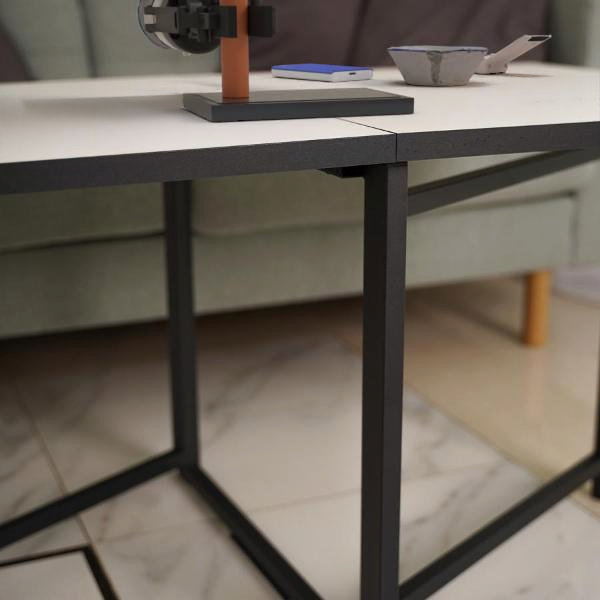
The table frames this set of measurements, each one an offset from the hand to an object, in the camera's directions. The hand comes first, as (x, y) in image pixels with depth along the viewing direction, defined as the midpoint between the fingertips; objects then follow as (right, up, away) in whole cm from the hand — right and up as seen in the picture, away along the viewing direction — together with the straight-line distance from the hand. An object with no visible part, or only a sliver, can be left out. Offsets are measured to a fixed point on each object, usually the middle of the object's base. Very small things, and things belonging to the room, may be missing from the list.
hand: (250, 21), depth 80 cm
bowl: (+22, +4, +40) cm, 46 cm away
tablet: (+4, -6, +9) cm, 12 cm away
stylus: (-2, -5, +7) cm, 9 cm away
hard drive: (+7, +7, +49) cm, 50 cm away
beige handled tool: (+31, +10, +60) cm, 68 cm away
